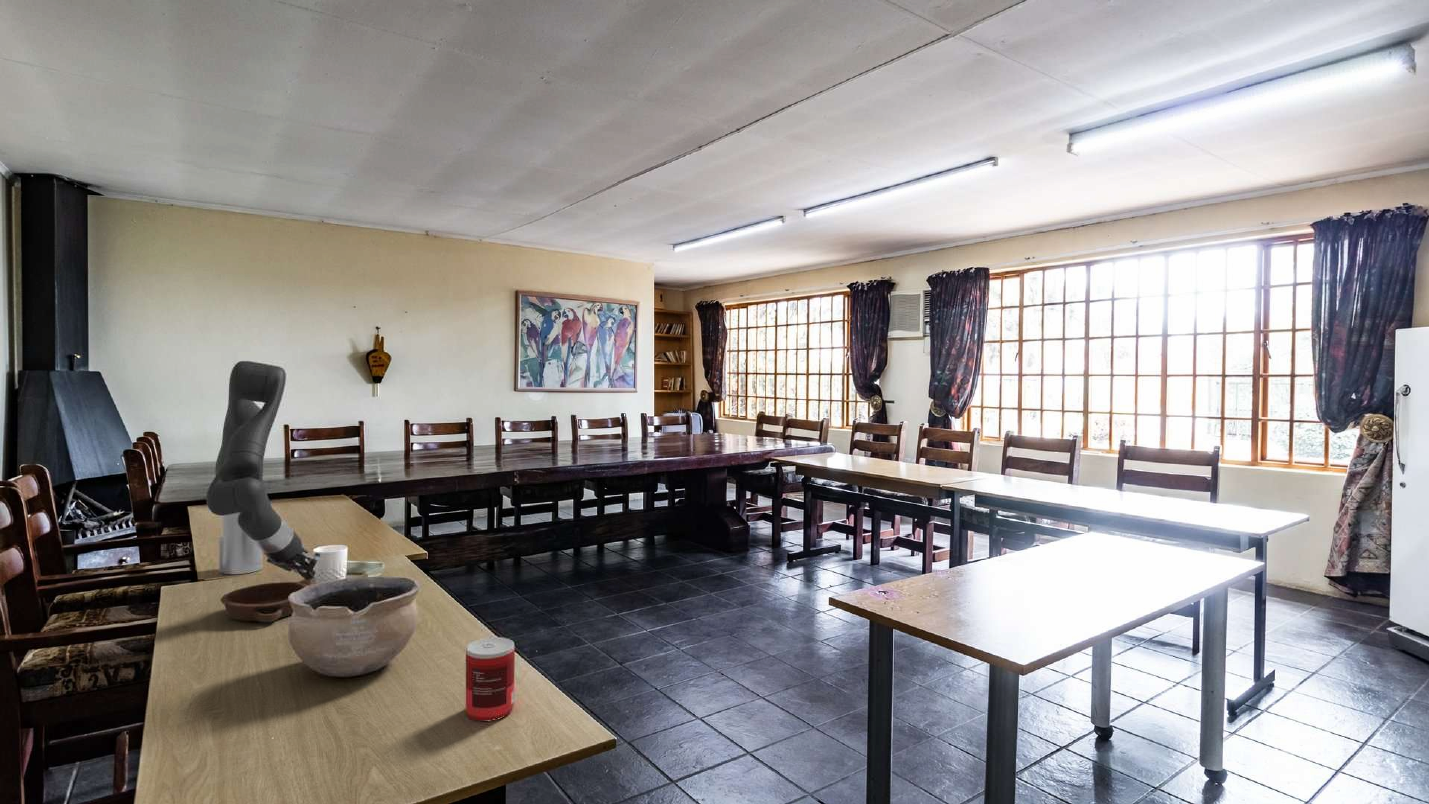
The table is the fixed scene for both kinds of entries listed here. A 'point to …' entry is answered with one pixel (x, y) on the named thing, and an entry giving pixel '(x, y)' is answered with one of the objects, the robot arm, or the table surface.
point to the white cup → (331, 563)
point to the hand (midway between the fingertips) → (310, 576)
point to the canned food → (490, 678)
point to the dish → (261, 601)
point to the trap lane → (357, 570)
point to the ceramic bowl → (352, 623)
